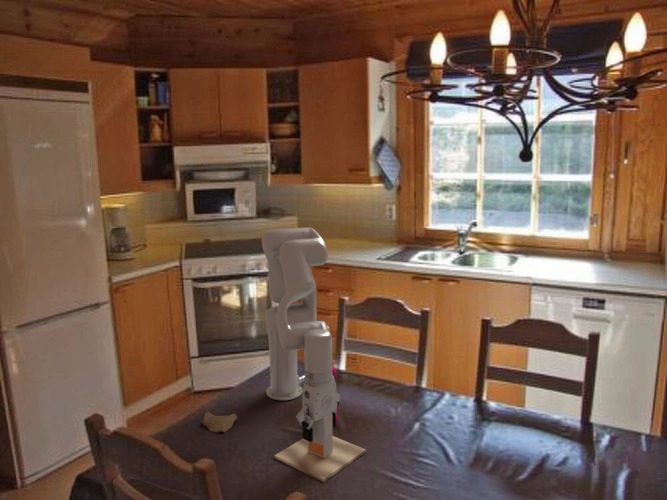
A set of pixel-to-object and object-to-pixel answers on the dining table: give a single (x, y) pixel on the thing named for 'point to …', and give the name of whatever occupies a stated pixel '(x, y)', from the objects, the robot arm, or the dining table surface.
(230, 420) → the pottery shard
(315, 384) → the robot arm
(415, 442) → the dining table surface
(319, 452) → the skincare box
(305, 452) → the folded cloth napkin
